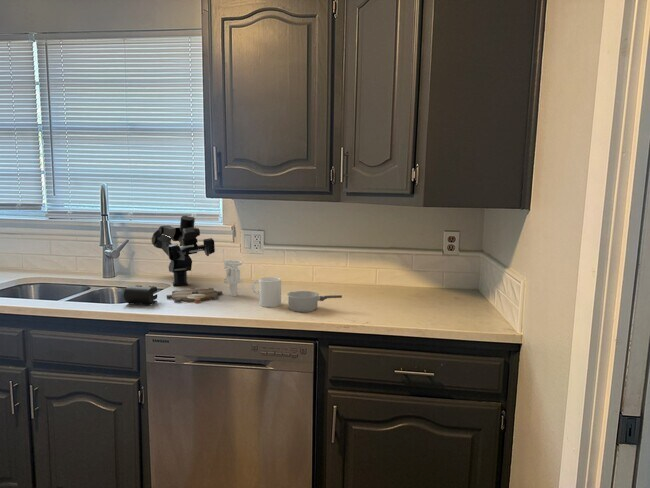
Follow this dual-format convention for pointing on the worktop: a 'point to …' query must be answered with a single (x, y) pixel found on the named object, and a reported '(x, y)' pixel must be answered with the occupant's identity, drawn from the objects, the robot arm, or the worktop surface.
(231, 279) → the light grey tall piece
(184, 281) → the robot arm
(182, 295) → the sprocket plate
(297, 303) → the saucepan
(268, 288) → the mug
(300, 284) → the worktop surface
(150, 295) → the end cap
